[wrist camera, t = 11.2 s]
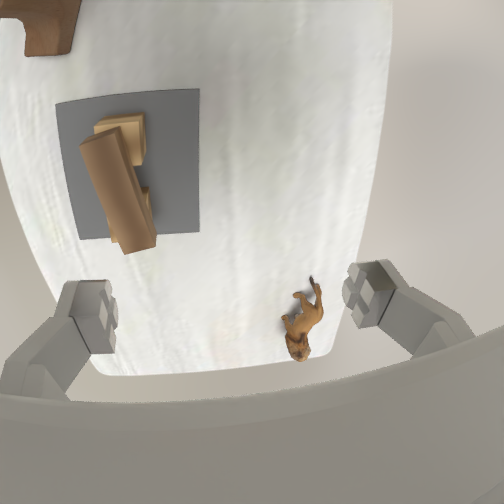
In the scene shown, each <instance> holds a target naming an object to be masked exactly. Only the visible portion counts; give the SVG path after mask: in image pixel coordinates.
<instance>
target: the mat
mask: <svg viewBox="0 0 504 504" xmlns="http://www.w3.org/2000/svg"><path fill="white" fill-rule="evenodd" d="M55 107H56V116H57V125H58V133H59V140H60V147H61V154H62V160H63V166H64V171H65V177H66V182H67V187H68V192H69V197H70V201H71V206H72V210H73V214H74V219H75V223H76V227H77V231H78V234H79V238H80V240H85V239H98V238H111V236H110V231H109V226H108V221H107V216H106V214H105V211H104V209H103V207H102V204H101V202H100V200H99V197H98V195H97V192H96V190H95V188H94V185H93V183H92V180H91V178H90V175H89V172H88V170H87V167H86V165H85V162H84V159H83V157H82V154H81V151H80V148H79V145H80V144H81V143H82V142H83V141H84V140H85V139H86V138H87V137H89V136H92V135H95V134H94V126H95V125H96V124H97V123H98V122H99V121H100V120H101V119H102V118H103V117H104V116H110V115H119V114H129V113H139V112H145V134H146V153H145V156H144V159H143V162H142V165H137V166H133V168H134V171H135V174H136V176H137V179H138V182H139V185H140V187H149V190H150V200H151V210H152V219H153V220H152V221H153V224H154V226H155V229H156V232H157V235H158V234H174V233H192V232H199V178H198V138H199V89H178V90H160V91H146V92H135V93H125V94H117V95H109V96H101V97H94V98H88V99H81V100H76V101H70V102H65V103H59V104H56V105H55Z"/></svg>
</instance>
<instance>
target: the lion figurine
mask: <svg viewBox="0 0 504 504" xmlns="http://www.w3.org/2000/svg"><path fill="white" fill-rule="evenodd" d="M310 283H311V285H312V287H313V289H314V291H315V294H316V301H315V305H312V304H311V303H310V302H308V301H307V300H306V298H305V295H304V294H301V293H295V294H293V297H294V298H300V299H301V307H302V310H303V313H301V314H296V315H295V316H294V318H295V320H294V323H293V325H292V324H291V323H290V322H289V317H288V316H287V315H284V316H282V317H281V318H282V320H285V327H286V330H287V333H286V335H285V339H286V345H287V348H288V350H289V353H290V355H291V358H293V359H294V360H296V361H299V362H302V361H304V360H306V359H307V358H308V356H309V354H310V352H311V349H310V347H309V344H308V339H307V334H308V332H309V331H310V329H311V328H312V326H313V325H315V324H316V323H318V322H319V321H320V320H321V319H322V317H323V313H324V312H323V307H322V302H321V294H322V291H321V289H320V286H319V285H318V284H315V285H314V280H313V278H312V277H311V279H310Z"/></svg>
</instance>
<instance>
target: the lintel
mask: <svg viewBox="0 0 504 504" xmlns="http://www.w3.org/2000/svg"><path fill="white" fill-rule="evenodd" d="M79 148H80V151H81V154H82V157H83V159H84V162H85V165H86V167H87V170H88V172H89V175H90V178H91V180H92V183H93V185H94V188H95V190H96V192H97V195H98V197H99V200H100V202H101V204H102V207H103V209H104V211H105V214H106V216H107V218H108V221H109V223H110V225H111V227H112V230H113V232H114V234H115V236H116V238H117V240H118V243H119V245H120V247H121V249H122V251H123V253H124V255H126V254H130V253H134V252H137V251H141V250H145V249H149V248H153V247H156V236H157V232H156V229H155V226H154V224H153V221H152V218H151V216H150V213H149V210H148V208H147V205H146V202H145V199H144V196H143V194H142V191H141V188H140V185H139V182H138V179H137V176H136V174H135V171H134V168H133V165H132V162H131V159H130V156H129V153H128V149H127V146H126V143H125V140H124V137H123V134H122V130H121V127H120V126H118V127H115V128H112V129H109V130H106V131H103V132H100V133H98V134H95V135H92V136H89V137H87V138H86V139H85V140H84V141H83V142H82V143H81V144H80V145H79Z"/></svg>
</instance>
